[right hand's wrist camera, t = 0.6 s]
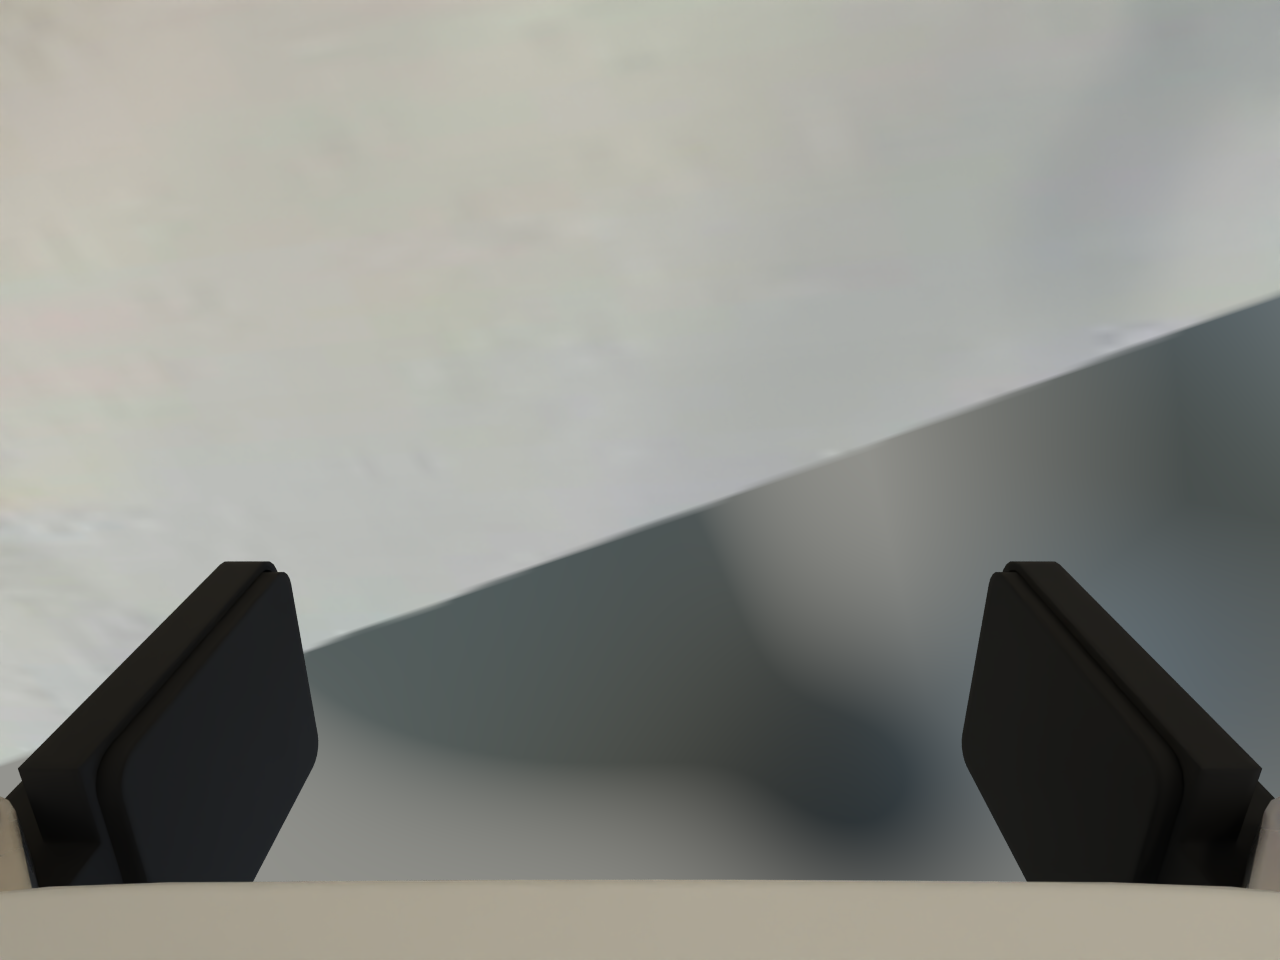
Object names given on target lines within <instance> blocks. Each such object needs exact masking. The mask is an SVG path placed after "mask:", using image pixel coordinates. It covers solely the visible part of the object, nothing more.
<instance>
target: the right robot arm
mask: <svg viewBox="0 0 1280 960" xmlns="http://www.w3.org/2000/svg"><path fill="white" fill-rule="evenodd" d="M317 751H318V734H317V728H316V723H315V717H314V711H313V706H312V700H311V694H310V688H309V683H308V677H307V671H306V666H305V660H304V654H303V649H302V643H301V637H300V632H299V626H298V620H297V615H296V609H295V604H294V598H293V592H292V587H291V582H290V578H289V577H288V575H287V574H286V573H285V572H277V570H276V568H275V566H274V564H272V563H271V562H224V563H222V564H221V565H219V566H218V567H217V568H216V569H215V570H214V571H213V572H212V573H211V574H210V575H209V576H208V577H207V578H206V579H205V580H204V581H203V582H202V583H201V584H200V585H199V586H198V588H197V589H196V590H195V591H194V592H193V593H192V594H191V595H190V596H189V597H188V598H187V599H186V600H185V601H184V602H183V603H182V604H181V605H180V606H179V607H178V608H177V609H176V610H175V611H174V612H173V613H172V614H171V615H170V616H169V617H168V618H167V619H166V620H165V621H164V622H163V623H162V624H161V625H160V626H159V627H158V628H157V629H156V630H155V631H154V632H153V633H152V634H151V635H150V636H149V637H148V638H147V639H146V640H145V641H144V642H143V643H142V644H141V645H140V646H139V647H138V648H137V649H136V650H135V651H134V652H133V653H132V654H131V655H130V656H129V657H128V658H127V659H126V660H125V661H124V662H123V663H122V664H121V665H120V666H119V667H118V668H117V669H116V670H115V671H114V672H113V673H112V674H111V675H110V676H109V677H108V678H107V679H106V680H105V681H104V682H103V683H102V684H101V685H100V686H99V687H98V688H97V689H96V690H95V691H94V692H93V693H92V694H91V695H90V696H89V697H88V698H87V699H86V700H85V701H84V702H83V703H82V704H81V705H80V706H79V707H78V708H77V709H76V710H75V711H74V712H73V713H72V714H71V716H70V717H69V718H68V719H67V720H66V721H65V722H64V723H63V724H62V725H61V726H60V727H59V728H58V729H57V730H56V731H55V732H54V733H53V734H52V735H51V736H50V737H49V738H48V739H47V740H46V741H45V742H44V743H43V744H42V745H41V746H40V747H39V748H38V749H37V750H36V751H35V752H34V753H33V754H32V755H31V756H30V757H29V758H28V759H27V760H26V761H25V762H24V763H23V764H22V765H21V766H20V767H19V768H18V770H19V773H20V776H21V779H22V782H21V783H20V784H19V785H18V786H17V787H16V788H15V789H14V790H13V791H12V792H11V793H10V794H9V795H8V796H7V797H6V798H2V797H0V960H1280V797H1278V798H1274V797H1273V796H1272V795H1271V794H1270V793H1269V792H1268V791H1267V790H1266V789H1265V788H1264V787H1263V786H1262V785H1261V784H1260V783H1259V782H1258V779H1259V776H1260V773H1261V770H1262V768H1261V767H1260V766H1259V765H1258V764H1257V763H1256V762H1255V761H1254V760H1253V759H1252V758H1251V757H1250V756H1249V755H1248V754H1247V753H1246V752H1245V751H1244V750H1243V749H1242V748H1241V747H1240V746H1239V745H1238V744H1237V743H1236V742H1235V741H1234V740H1233V739H1232V738H1231V737H1230V736H1229V735H1228V734H1227V733H1226V732H1225V731H1224V730H1223V729H1222V728H1221V727H1220V726H1219V725H1218V724H1217V723H1216V722H1215V721H1214V720H1213V719H1212V718H1211V717H1210V716H1209V714H1208V713H1207V712H1205V710H1204V709H1203V708H1202V707H1201V706H1200V705H1199V704H1198V703H1197V702H1196V701H1195V700H1194V699H1193V698H1192V697H1191V696H1190V695H1189V694H1188V693H1187V692H1186V691H1185V690H1184V689H1183V688H1182V687H1181V686H1180V685H1179V684H1178V683H1177V682H1176V681H1175V680H1174V679H1173V678H1172V677H1171V676H1170V675H1169V674H1168V673H1167V672H1166V671H1165V670H1164V669H1163V668H1162V667H1161V666H1160V665H1159V664H1158V663H1157V662H1156V661H1155V660H1154V659H1153V658H1152V657H1151V656H1150V655H1149V654H1148V653H1147V652H1146V651H1145V650H1144V649H1143V648H1142V647H1141V646H1140V645H1139V644H1138V643H1137V642H1136V641H1135V640H1134V639H1133V638H1132V637H1131V636H1130V635H1129V634H1128V633H1127V632H1126V631H1125V630H1124V629H1123V628H1122V627H1121V626H1120V625H1119V624H1118V623H1117V622H1116V621H1115V620H1114V619H1113V618H1112V617H1111V616H1110V615H1109V614H1108V613H1107V612H1106V611H1105V610H1104V609H1103V608H1102V607H1101V606H1100V605H1099V604H1098V603H1097V602H1096V601H1095V600H1094V599H1093V598H1092V597H1091V596H1090V595H1089V594H1088V593H1087V592H1086V591H1085V590H1084V589H1083V588H1082V587H1081V585H1079V583H1078V582H1076V580H1075V579H1074V578H1073V577H1072V576H1071V575H1070V574H1069V573H1068V572H1067V571H1066V570H1065V569H1064V568H1063V567H1062V566H1061V565H1059V564H1058V563H1056V562H1009V563H1008V564H1007V565H1006V566H1005V568H1004V570H1003V572H995V573H994V574H993V575H992V577H991V579H990V582H989V587H988V592H987V598H986V604H985V609H984V615H983V620H982V626H981V632H980V638H979V643H978V649H977V654H976V660H975V666H974V671H973V677H972V683H971V689H970V694H969V700H968V705H967V711H966V717H965V723H964V728H963V734H962V751H963V756H964V760H965V763H966V766H967V768H968V770H969V772H970V774H971V775H972V777H973V779H974V781H975V783H976V785H977V787H978V789H979V791H980V793H981V795H982V796H983V798H984V800H985V802H986V804H987V806H988V808H989V810H990V812H991V814H992V816H993V818H994V819H995V821H996V823H997V825H998V827H999V829H1000V831H1001V833H1002V835H1003V837H1004V839H1005V840H1006V842H1007V844H1008V846H1009V848H1010V850H1011V852H1012V854H1013V856H1014V858H1015V860H1016V861H1017V863H1018V865H1019V867H1020V869H1021V871H1022V873H1023V875H1024V877H1025V879H1026V881H1027V882H996V881H995V882H994V881H854V880H853V881H852V880H428V881H427V880H423V881H301V882H300V881H299V882H253V881H254V879H255V877H256V875H257V873H258V871H259V869H260V867H261V865H262V863H263V861H264V860H265V858H266V856H267V854H268V852H269V850H270V848H271V846H272V844H273V842H274V840H275V838H276V837H277V835H278V833H279V831H280V829H281V827H282V825H283V823H284V821H285V819H286V818H287V816H288V814H289V812H290V810H291V808H292V806H293V804H294V802H295V800H296V798H297V796H298V795H299V793H300V791H301V789H302V787H303V785H304V783H305V781H306V779H307V777H308V775H309V774H310V772H311V770H312V768H313V766H314V763H315V760H316V757H317Z"/></svg>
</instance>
